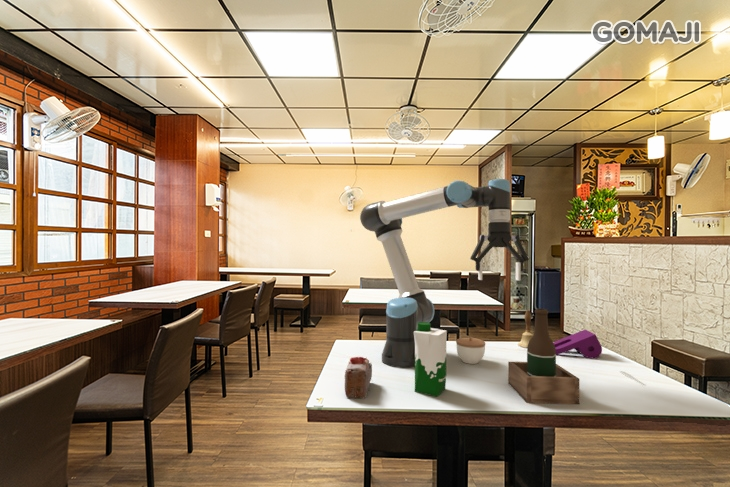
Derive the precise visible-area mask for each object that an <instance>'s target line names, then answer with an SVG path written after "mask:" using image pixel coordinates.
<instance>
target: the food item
mask: <svg viewBox="0 0 730 487" xmlns="http://www.w3.org/2000/svg"><path fill="white" fill-rule="evenodd" d="M346 366H347V367H346V370H345V372H344V393H345V396H346V398H349V399H352V398H354V399H358V398H359V399H366V397H367V394H368V392H369V391H370V390H369V389H370V385H371V381H372V377H373V365H372V362H370V360H369V359H368V358H367V357H363V356H354V357H350V358H349V361H348V363H347V365H346Z"/></svg>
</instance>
